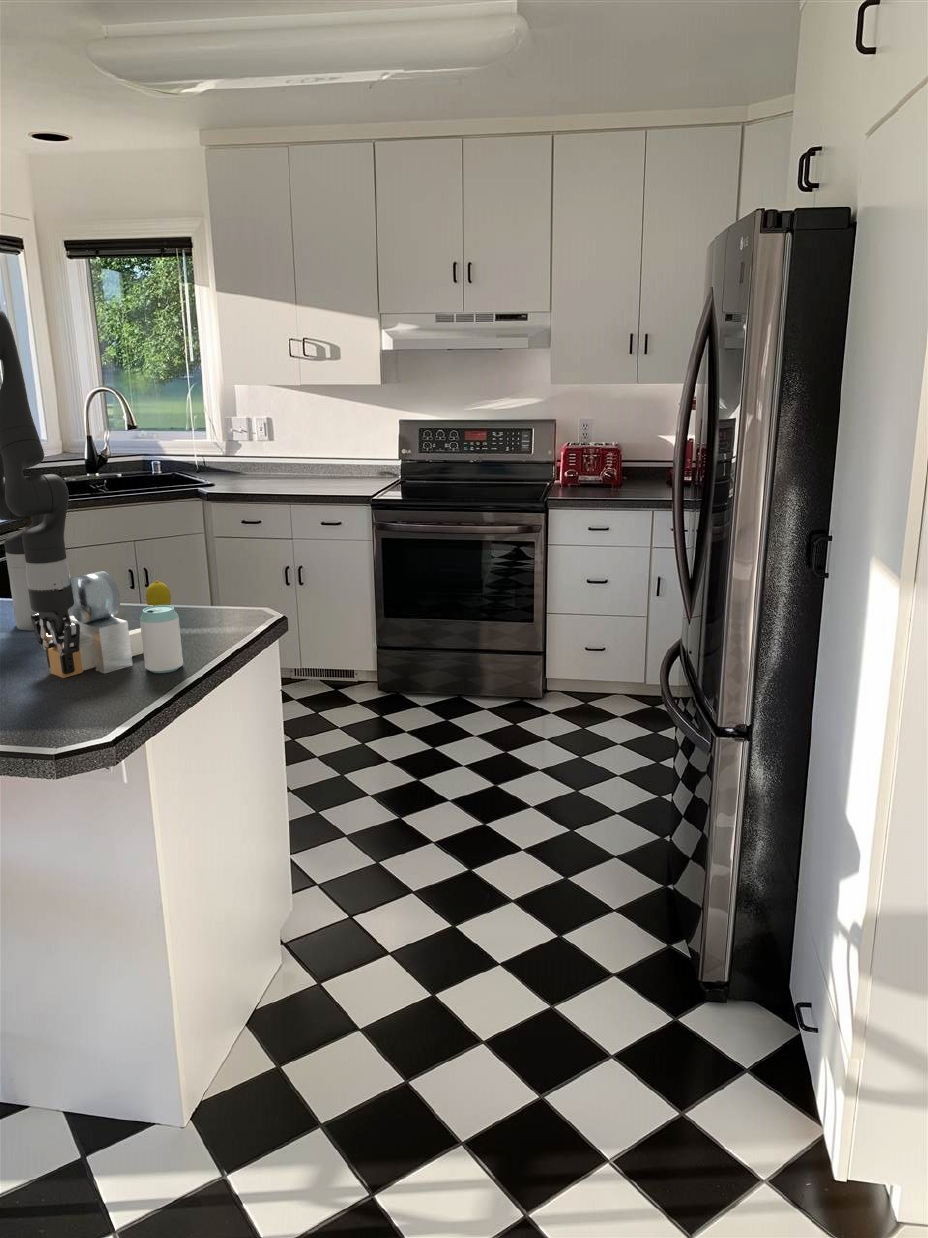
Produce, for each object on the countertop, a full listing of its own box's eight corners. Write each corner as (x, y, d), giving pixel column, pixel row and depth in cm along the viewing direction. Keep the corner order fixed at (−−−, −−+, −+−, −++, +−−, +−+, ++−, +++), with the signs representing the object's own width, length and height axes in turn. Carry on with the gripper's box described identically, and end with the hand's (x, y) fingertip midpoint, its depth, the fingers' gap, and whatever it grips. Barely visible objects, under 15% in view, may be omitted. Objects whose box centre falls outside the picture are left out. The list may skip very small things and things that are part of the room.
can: (169, 675, 183) (162, 614, 179) (137, 672, 185) (131, 612, 182) (190, 664, 189) (184, 605, 186) (160, 661, 191) (153, 602, 188)
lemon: (165, 617, 222) (161, 583, 219) (143, 616, 223) (139, 583, 220) (176, 611, 227) (173, 578, 225) (155, 610, 228) (151, 577, 226)
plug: (51, 673, 185) (47, 648, 184) (140, 647, 200) (137, 624, 198) (63, 678, 182) (59, 652, 181) (153, 651, 197) (150, 628, 195)
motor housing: (70, 661, 192) (58, 572, 187) (98, 653, 197) (87, 567, 192) (104, 673, 185) (93, 582, 180) (132, 665, 189) (122, 575, 184)
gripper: (10, 581, 181) (24, 668, 186) (50, 593, 172) (62, 683, 177) (49, 574, 187) (60, 658, 191) (88, 584, 178) (100, 672, 183)
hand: (61, 669), depth 184 cm, fingers closed on plug, 4 cm apart
